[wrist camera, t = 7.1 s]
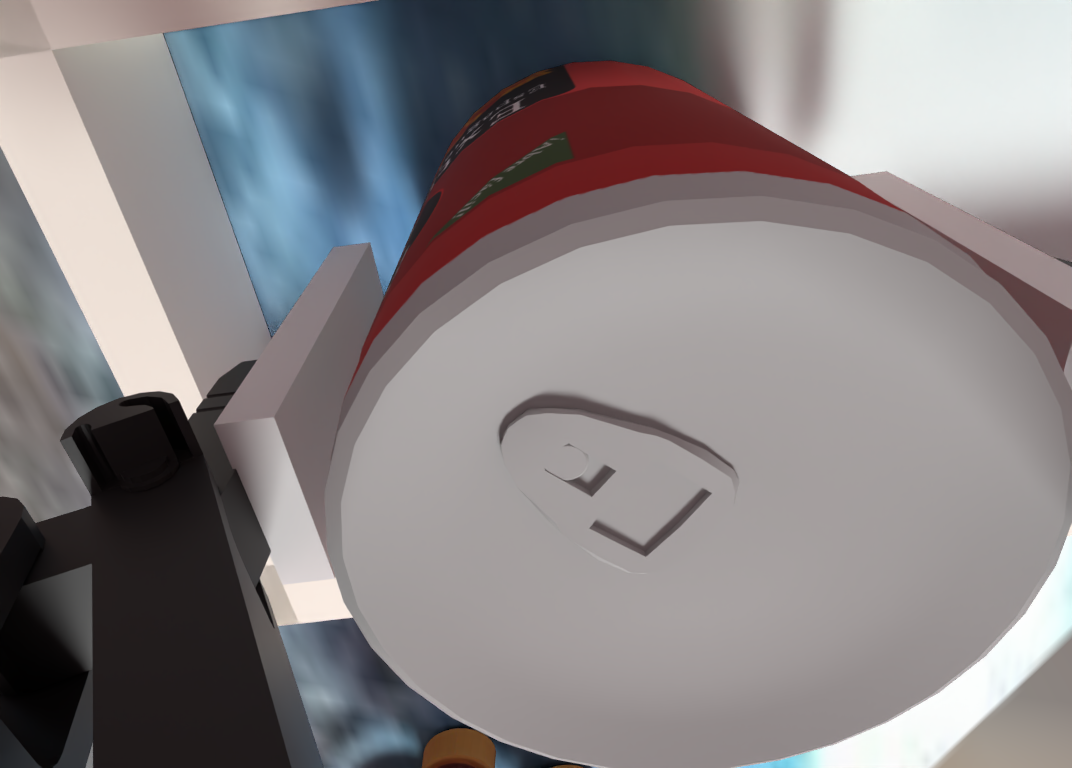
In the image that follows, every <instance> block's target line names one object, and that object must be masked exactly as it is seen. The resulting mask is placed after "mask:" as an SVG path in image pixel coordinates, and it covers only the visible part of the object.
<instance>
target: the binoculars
mask: <svg viewBox="0 0 1072 768" xmlns="http://www.w3.org/2000/svg"><path fill="white" fill-rule="evenodd" d="M495 757H496V750H495V746H494V744H493V742H492V741H491V740H490V739H489V738H488V737H487V736H486V735H484V734H483V733H481V732H478V731H476V730H472V729H466V728H456V729H450V730H446V731H443V732H441V733H439V734H437V735H435V736H434V737H433V738H432V739H431V740H430V741H429V742H428V743H427V745H426V747H425V750H424V755H423V762H422V768H495ZM552 768H583V767H580V766H577V765H560V766H555V767H552Z"/></svg>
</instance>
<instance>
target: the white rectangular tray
mask: <svg viewBox="0 0 1072 768" xmlns="http://www.w3.org/2000/svg"><path fill="white" fill-rule="evenodd" d="M370 1H377V0H0V146H1V148H2V150H3V152H4V154H5V156H6V158H7V160H8V162H9V164H10V166H11V168H12V170H13V172H14V174H15V176H16V178H17V180H18V182H19V184H20V186H21V189H22V191H23V193H24V195H25V197H26V199H27V201H28V203H29V205H30V207H31V209H32V211H33V213H34V215H35V217H36V219H37V221H38V223H39V225H40V227H41V229H42V231H43V233H44V235H45V237H46V239H47V241H48V243H49V245H50V247H51V249H52V251H53V253H54V255H55V257H56V259H57V261H58V263H59V265H60V267H61V269H62V271H63V273H64V275H65V277H66V279H67V281H68V283H69V285H70V287H71V289H72V291H73V293H74V295H75V297H76V299H77V302H78V304H79V306H80V308H81V310H82V312H83V314H84V316H85V318H86V320H87V322H88V324H89V326H90V328H91V330H92V332H93V334H94V336H95V338H96V340H97V342H98V344H99V346H100V348H101V350H102V352H103V354H104V356H105V358H106V360H107V362H108V364H109V366H110V368H111V370H112V372H113V374H114V376H115V378H116V380H117V382H118V384H119V386H120V388H121V390H122V392H123V394H124V396H125V397H126V396H130V395H134V394H138V393H143V392H155V391H162V392H167V393H172V394H174V395H175V396H176V397H177V398H178V400H179V401H180V403H181V405H182V408H183V410H184V412H185V414H186V417H187V419H189V418H190V417H191V415H192V414H193V413H196V409H197V407H198V406H199V405H200V403H201V402H202V401H203V399H206V398H207V396H206V395H207V394H208V392H209V391H210V390H211V388H212V387H213V386H214V384H215V383H216V382H217V380H218V379H219V378H220V377H221V376H223V375H224V374H226V373H227V372H228V371H230V370H231V369H232V368H234V367H235V366H237V365H238V364H239V363H241V362H243V361H251V360H258V358H259V357H260V355H261V354H262V352H263V351H264V349H265V348H266V346H267V345H268V343H269V342H270V340H271V336H270V333H269V330H268V327H267V325H266V322H265V319H264V316H263V313H262V310H261V308H260V305H259V302H258V299H257V296H256V294H255V291H254V288H253V285H252V282H251V280H250V277H249V274H248V271H247V268H246V266H245V263H244V260H243V257H242V254H241V252H240V249H239V246H238V243H237V240H236V238H235V235H234V232H233V229H232V226H231V223H230V221H229V218H228V215H227V212H226V209H225V207H224V204H223V201H222V198H221V195H220V193H219V190H218V187H217V184H216V181H215V179H214V176H213V173H212V170H211V167H210V165H209V162H208V159H207V156H206V153H205V151H204V148H203V145H202V142H201V139H200V136H199V134H198V131H197V128H196V125H195V122H194V120H193V117H192V114H191V111H190V108H189V106H188V103H187V100H186V97H185V94H184V92H183V89H182V86H181V83H180V80H179V78H178V75H177V72H176V69H175V66H174V64H173V61H172V58H171V55H170V52H169V50H168V47H167V44H166V41H165V38H164V35H163V33H167V32H173V31H180V30H186V29H193V28H200V27H206V26H213V25H219V24H226V23H232V22H239V21H245V20H252V19H259V18H265V17H272V16H278V15H285V14H291V13H298V12H305V11H311V10H318V9H324V8H331V7H337V6H344V5H351V4H357V3H364V2H370ZM1070 535H1072V524H1071V527H1070V529H1069V532H1068V535H1067V536H1070ZM260 580H261V583H262V585H263V587H264V589H265V591H266V594H267V596H268V598H269V601H270V604H271V607H272V610H273V613H274V616H275V619H276V622H277V625H278V626H283V625H292V624H301V623H309V622H318V621H327V620H336V619H344V618H353V617H352V615H351V614H350V612H349V610H348V609H347V607H346V605H345V604H344V602H343V599H342V596H341V592H340V589H339V586H338V583H337V580H336V577H335V579H328V580H319V581H311V582H302V583H294V584H285V585H282V582H281V580H280V578H279V575H278V573H277V571H276V568H275V566H274V564H273V561H272V559H271V557H270V555H269V558H268V560H267V562H266V565H265V567H264V569H263V572H262V574H261V577H260Z"/></svg>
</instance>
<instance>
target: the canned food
mask: <svg viewBox="0 0 1072 768" xmlns="http://www.w3.org/2000/svg"><path fill="white" fill-rule="evenodd" d="M324 497H325V518H326V538H327V552H328V555H329V558H330V561H331V564H332V567H333V571H334V574H335V577H336V580H337V583H338V586H339V589H340V592H341V596H342V599H343V602H344V604H345V605H346V607H347V609H348V610H349V612H350V614H351V615H352V617H353V618H354V620H355V622H356V623H357V625H358V627H359V628H360V630H361V632H362V633H363V635H364V636H365V638H366V640H367V641H368V643H369V645H370V646H371V648H372V649H373V650H374V651H375V652H376V653H377V654H378V655H379V656H380V657H381V658H382V659H383V660H384V662H385V663H386V664H387V665H388V666H389V667H390V668H391V669H392V670H393V671H394V672H395V673H396V674H397V675H398V676H399V677H400V678H401V679H402V680H403V681H404V682H405V684H406V685H407V686H408V687H410V688H411V689H413V690H414V691H415V692H417V693H418V694H420V695H421V696H422V697H424V698H425V699H427V700H428V701H429V702H431V703H432V704H433V705H435V706H436V707H438V708H439V709H440V710H442V711H443V712H445V713H446V714H447V715H449V716H450V717H452V718H454V719H456V720H458V721H460V722H462V723H464V724H466V725H468V726H470V727H472V728H474V729H476V730H478V731H480V732H482V733H484V734H486V735H488V736H490V737H492V738H494V739H496V740H498V741H500V742H503V743H506V744H509V745H512V746H515V747H518V748H521V749H524V750H527V751H530V752H533V753H536V754H539V755H542V756H546V757H549V758H552V759H556V760H561V761H567V762H572V763H577V764H583V765H588V766H593V767H599V768H736V767H742V766H748V765H754V764H760V763H766V762H772V761H778V760H782V759H785V758H789V757H792V756H796V755H799V754H803V753H806V752H810V751H813V750H817V749H820V748H823V747H827V746H830V745H834V744H837V743H839V742H841V741H844V740H846V739H848V738H851V737H853V736H856V735H858V734H860V733H863V732H865V731H867V730H870V729H872V728H875V727H877V726H879V725H882V724H884V723H886V722H889V721H890V720H892V719H894V718H896V717H897V716H899V715H901V714H903V713H904V712H906V711H908V710H909V709H911V708H913V707H915V706H916V705H918V704H920V703H922V702H923V701H925V700H927V699H928V698H930V697H932V696H934V695H935V694H937V693H939V692H940V691H941V690H943V689H944V688H945V687H947V686H948V685H949V684H950V683H952V682H953V681H954V680H956V679H957V678H958V677H959V676H961V675H962V674H963V673H964V672H966V671H967V670H968V669H970V668H971V667H972V666H973V665H975V664H976V663H977V662H979V661H980V660H981V659H982V658H984V657H985V656H986V655H987V654H988V653H989V652H990V651H991V650H992V648H993V647H994V646H995V645H996V644H997V643H998V642H999V641H1000V640H1001V639H1002V638H1003V637H1004V636H1005V635H1006V633H1007V632H1008V631H1009V630H1010V629H1011V628H1012V627H1013V626H1014V625H1015V624H1016V623H1017V622H1018V621H1019V620H1020V618H1021V617H1022V616H1023V615H1024V614H1025V613H1026V611H1027V610H1028V608H1029V606H1030V605H1031V603H1032V602H1033V600H1034V599H1035V597H1036V596H1037V594H1038V592H1039V591H1040V589H1041V588H1042V586H1043V585H1044V583H1045V582H1046V580H1047V578H1048V577H1049V575H1050V574H1051V572H1052V571H1053V569H1054V568H1055V566H1056V564H1057V561H1058V558H1059V556H1060V553H1061V550H1062V548H1063V545H1064V542H1065V540H1066V537H1067V535H1068V532H1069V529H1070V527H1071V524H1072V390H1071V387H1070V385H1069V383H1068V381H1067V379H1066V377H1065V375H1064V372H1063V370H1062V368H1061V366H1060V364H1059V362H1058V360H1057V357H1056V355H1055V353H1054V351H1053V349H1052V347H1051V345H1050V342H1049V340H1048V338H1047V336H1046V335H1045V334H1044V333H1043V332H1042V331H1041V330H1040V328H1039V327H1038V326H1037V325H1036V324H1035V323H1034V321H1033V320H1032V319H1031V318H1030V317H1029V316H1028V315H1027V313H1026V312H1025V311H1024V310H1023V309H1022V308H1021V307H1020V305H1019V304H1018V303H1017V302H1016V301H1015V300H1014V299H1013V297H1012V296H1011V295H1010V294H1009V293H1008V292H1007V291H1006V289H1005V288H1004V287H1003V286H1002V285H1001V284H1000V283H999V282H997V281H996V280H994V279H993V278H991V277H990V276H988V275H987V274H986V273H985V272H984V271H983V270H982V269H981V268H980V267H979V266H978V264H977V263H976V262H975V261H974V260H973V259H972V258H971V256H970V255H968V254H967V253H965V252H964V251H962V250H961V249H959V248H958V247H956V246H955V245H953V244H952V243H951V242H949V241H948V240H946V239H945V238H943V237H942V236H940V235H939V234H937V233H936V232H934V231H933V230H931V229H930V228H928V227H927V226H925V225H924V224H923V223H921V222H920V221H918V220H917V219H915V218H914V217H912V216H911V215H909V214H908V213H906V212H904V211H903V210H901V209H899V208H898V207H896V206H894V205H893V204H891V203H890V202H888V201H887V200H885V199H884V198H882V197H881V196H879V195H878V194H876V193H875V192H873V191H872V190H870V189H869V188H867V187H866V186H865V185H863V184H862V183H860V182H859V181H857V180H855V179H854V178H852V177H850V176H849V175H847V174H845V173H843V172H842V171H840V170H838V169H836V168H835V167H833V166H831V165H829V164H828V163H826V162H824V161H822V160H821V159H819V158H817V157H815V156H814V155H812V154H810V153H809V152H807V151H805V150H803V149H802V148H800V147H798V146H796V145H795V144H793V143H791V142H789V141H788V140H786V139H784V138H782V137H781V136H779V135H777V134H775V133H774V132H772V131H770V130H768V129H767V128H765V127H763V126H762V125H760V124H758V123H756V122H755V121H753V120H751V119H749V118H748V117H746V116H744V115H742V114H741V113H739V112H737V111H735V110H734V109H732V108H730V107H728V106H727V105H725V104H723V103H722V102H720V101H718V100H716V99H715V98H713V97H711V96H709V95H708V94H706V93H704V92H702V91H701V90H699V89H697V88H695V87H694V86H692V85H690V84H688V83H687V82H685V81H683V80H681V79H678V78H676V77H673V76H671V75H668V74H666V73H663V72H661V71H658V70H655V69H653V68H650V67H647V66H641V65H635V64H629V63H623V62H617V61H592V62H573V63H569V64H565V65H562V66H558V67H554V68H550V69H547V70H543V71H539V72H536V73H534V74H532V75H530V76H528V77H526V78H524V79H522V80H520V81H518V82H516V83H514V84H512V85H511V86H509V87H507V88H505V89H503V90H501V91H500V92H499V93H498V94H497V95H495V96H494V97H493V98H492V99H491V100H489V101H488V102H487V103H486V104H484V105H483V106H482V107H481V108H480V109H478V110H477V111H476V112H475V113H474V114H473V115H472V116H471V118H470V119H469V120H468V121H467V123H466V124H465V125H464V126H463V128H462V129H461V130H460V132H459V133H458V134H457V135H456V137H455V138H454V139H453V140H452V142H451V144H450V146H449V148H448V150H447V152H446V154H445V156H444V158H443V160H442V162H441V164H440V166H439V169H438V171H437V173H436V175H435V177H434V180H433V182H432V184H431V187H430V189H429V191H428V194H427V196H426V199H425V201H424V203H423V206H422V208H421V210H420V213H419V215H418V217H417V220H416V222H415V224H414V227H413V229H412V232H411V234H410V236H409V239H408V241H407V243H406V246H405V248H404V250H403V253H402V255H401V258H400V260H399V262H398V265H397V267H396V269H395V272H394V274H393V276H392V279H391V281H390V283H389V286H388V288H387V291H386V293H385V295H384V298H383V300H382V302H381V305H380V307H379V309H378V312H377V314H376V316H375V319H374V321H373V324H372V326H371V328H370V331H369V333H368V335H367V338H366V340H365V342H364V345H363V347H362V350H361V355H360V359H359V362H358V365H357V367H356V370H355V372H354V375H353V377H352V380H351V382H350V385H349V387H348V390H347V392H346V394H345V397H344V399H343V404H342V408H341V413H340V418H339V422H338V427H337V431H336V436H335V440H334V445H333V449H332V454H331V465H330V470H329V474H328V479H327V484H326V488H325V493H324Z"/></svg>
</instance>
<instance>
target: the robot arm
mask: <svg viewBox="0 0 1072 768" xmlns="http://www.w3.org/2000/svg"><path fill="white" fill-rule="evenodd" d="M850 177H852V178H854V179H855V180H857V181H859V182H860V183H862V184H863V185H865V186H866V187H867V188H869V189H870V190H872V191H873V192H875V193H876V194H878V195H879V196H881V197H882V198H884V199H885V200H887V201H888V202H890V203H891V204H893V205H894V206H896V207H898V208H899V209H901V210H903V211H904V212H906V213H908V214H909V215H911V216H912V217H914V218H915V219H917V220H918V221H920V222H921V223H923V224H924V225H925V226H927V227H928V228H930V229H931V230H933V231H934V232H936V233H937V234H939V235H940V236H942V237H943V238H945V239H946V240H948V241H949V242H951V243H952V244H953V245H955V246H956V247H958V248H959V249H961V250H962V251H964V252H965V253H967V254H968V255H970V256H971V258H972V259H973V260H974V261H975V262H976V263H977V264H978V266H979V267H980V268H981V269H982V270H983V271H984V272H985V273H986V274H987V275H988V276H990V277H991V278H993V279H994V280H996V281H997V282H999V283H1000V284H1001V285H1002V286H1003V287H1004V288H1005V289H1006V291H1007V292H1008V293H1009V294H1010V295H1011V296H1012V297H1013V299H1014V300H1015V301H1016V302H1017V303H1018V304H1019V305H1020V307H1021V308H1022V309H1023V310H1024V311H1025V312H1026V313H1027V315H1028V316H1029V317H1030V318H1031V319H1032V320H1033V321H1034V323H1035V324H1036V325H1037V326H1038V327H1039V328H1040V330H1041V331H1042V332H1043V333H1044V334H1045V335H1046V336H1047V338H1048V340H1049V342H1050V345H1051V347H1052V349H1053V351H1054V353H1055V355H1056V357H1057V360H1058V362H1059V364H1060V366H1061V368H1062V370H1063V372H1064V375H1065V377H1066V379H1067V381H1068V383H1069V385H1070V387H1071V390H1072V262H1069V261H1065V260H1061V259H1058V258H1054V257H1051V256H1049V255H1047V254H1045V253H1043V252H1041V251H1040V250H1038V249H1036V248H1034V247H1032V246H1030V245H1028V244H1026V243H1024V242H1022V241H1020V240H1018V239H1016V238H1014V237H1012V236H1011V235H1009V234H1007V233H1005V232H1003V231H1001V230H999V229H997V228H995V227H993V226H991V225H989V224H987V223H985V222H983V221H982V220H980V219H978V218H976V217H974V216H972V215H970V214H968V213H966V212H964V211H962V210H960V209H958V208H956V207H954V206H953V205H951V204H949V203H947V202H945V201H943V200H941V199H939V198H937V197H935V196H933V195H931V194H929V193H927V192H925V191H924V190H922V189H920V188H918V187H916V186H914V185H912V184H910V183H908V182H906V181H904V180H902V179H900V178H898V177H896V176H895V175H893V174H891V173H889V172H887V171H886V172H878V173H871V174H864V175H856V176H850ZM383 298H384V295H383V291H382V287H381V283H380V279H379V275H378V272H377V268H376V264H375V260H374V256H373V252H372V248H371V245H370V242H369V243H362V244H355V245H347V246H340V247H333V249H332V250H331V252H330V253H329V255H328V256H327V258H326V259H325V260H324V262H323V263H322V265H321V266H320V268H319V269H318V271H317V272H316V274H315V275H314V277H313V278H312V280H311V281H310V283H309V284H308V286H307V287H306V289H305V290H304V292H303V293H302V295H301V296H300V298H299V299H298V300H297V302H296V303H295V305H294V306H293V308H292V309H291V311H290V312H289V314H288V315H287V317H286V318H285V320H284V321H283V323H282V324H281V326H280V327H279V329H278V330H277V332H276V333H275V335H274V336H273V338H272V339H271V340H270V342H269V343H268V345H267V346H266V348H265V349H264V351H263V352H262V354H261V355H260V357H259V358H258V360H251V361H243V362H241V363H239V364H238V365H237V366H235V367H234V368H232V369H231V370H230V371H228V372H227V373H226V374H224V375H223V376H221V377H220V378H219V379H218V380H217V382H216V383H215V384H214V386H213V387H212V388H211V390H210V391H209V392H208V394H207V395H206V396H207V398H206V399H203V401H202V402H201V403H200V405H199V406H198V407H197V409H196V413H193V414H192V415H191V417H190V418H189V419H187V417H186V414H185V412H184V410H183V408H182V405H181V403H180V401H179V400H178V398H177V397H176V396H175V395H174V394H172V393H167V392H162V391H155V392H143V393H138V394H134V395H130V396H126V397H122V398H119V399H116V400H114V401H111V402H109V403H106V404H104V405H101V406H99V407H97V408H95V409H93V410H92V411H90V412H88V413H86V414H85V415H83V416H81V417H80V418H78V419H77V420H76V421H75V422H74V423H72V424H71V425H70V426H69V427H68V428H67V429H66V430H65V431H64V433H63V435H62V437H61V440H60V442H61V444H62V445H63V447H64V449H65V451H66V452H67V454H68V456H69V458H70V459H71V461H72V463H73V465H74V466H75V468H76V470H77V472H78V473H79V475H80V477H81V479H82V480H83V482H84V484H85V486H86V487H87V489H88V491H89V493H90V494H91V505H92V506H89V507H86V508H83V509H80V510H77V511H74V512H70V513H67V514H64V515H61V516H57V517H54V518H51V519H48V520H44V521H41V522H38V523H35V522H34V521H33V519H32V517H31V516H30V514H29V513H28V511H27V510H26V508H25V507H24V505H23V504H22V503H21V502H20V501H19V500H18V499H16V498H9V497H0V768H85V767H86V763H87V760H88V756H89V753H90V749H91V746H92V743H93V768H324V767H323V764H322V761H321V758H320V755H319V751H318V748H317V745H316V742H315V739H314V736H313V733H312V730H311V727H310V724H309V721H308V718H307V715H306V712H305V708H304V705H303V702H302V699H301V696H300V693H299V690H298V687H297V684H296V681H295V678H294V675H293V672H292V668H291V665H290V662H289V659H288V656H287V653H286V650H285V647H284V644H283V641H282V638H281V635H280V632H279V628H278V625H277V622H276V619H275V616H274V613H273V610H272V607H271V604H270V601H269V598H268V596H267V594H266V591H265V589H264V587H263V585H262V583H261V580H260V577H261V574H262V572H263V569H264V567H265V565H266V562H267V560H268V558H269V555H270V557H271V559H272V561H273V564H274V566H275V568H276V571H277V573H278V575H279V578H280V580H281V582H282V585H285V584H294V583H302V582H311V581H319V580H328V579H335V574H334V571H333V567H332V564H331V561H330V558H329V555H328V552H327V538H326V518H325V497H324V493H325V488H326V484H327V479H328V474H329V470H330V465H331V454H332V449H333V445H334V440H335V436H336V431H337V427H338V422H339V418H340V413H341V408H342V404H343V399H344V397H345V394H346V392H347V390H348V387H349V385H350V382H351V380H352V377H353V375H354V372H355V370H356V367H357V365H358V362H359V359H360V355H361V350H362V347H363V345H364V342H365V340H366V338H367V335H368V333H369V331H370V328H371V326H372V324H373V321H374V319H375V316H376V314H377V312H378V309H379V307H380V305H381V302H382V300H383Z"/></svg>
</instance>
